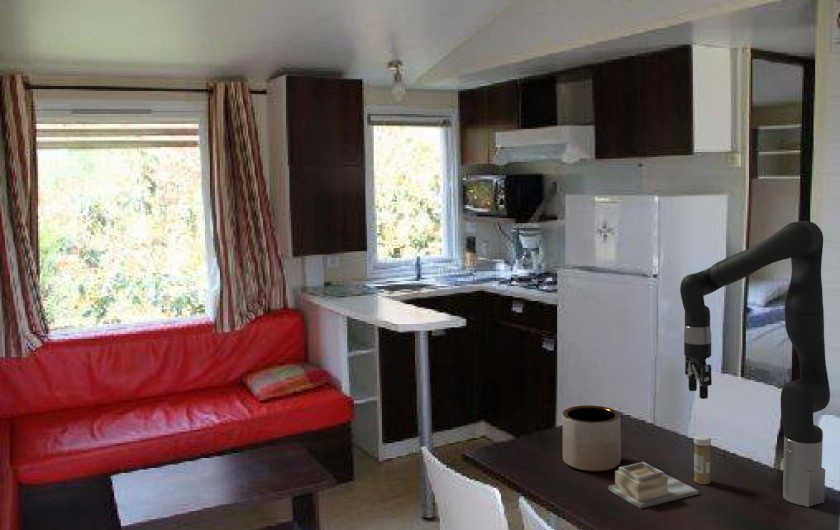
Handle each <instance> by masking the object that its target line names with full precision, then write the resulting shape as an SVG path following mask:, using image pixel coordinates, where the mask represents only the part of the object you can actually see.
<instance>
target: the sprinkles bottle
mask: <svg viewBox="0 0 840 530" xmlns="http://www.w3.org/2000/svg"><path fill="white" fill-rule="evenodd" d="M693 443H694V454H693V460H694V461H693V462H694V463H693V464H694V465H693V469H694V470H693V471H694V478H693V481H694V482H695V483H696V484H700V485H708V484H710V483H711V443H712V437H710V435H706V434H696V435H694V436H693Z"/></svg>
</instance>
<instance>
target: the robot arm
mask: <svg viewBox="0 0 840 530" xmlns="http://www.w3.org/2000/svg"><path fill="white" fill-rule="evenodd" d="M823 249H824V235H823V231H822V229H821V227H819V226H818V225H817V224H816V223H815V222H813V221H810V220H809V221H808V220H802V221H801V220H800V221H795V222H794V221H793V222H791V223H790V222H789V223H787V224H786V225H784V226H783V227H782V228H781V229H779V230H777V231H776V232H775V233H773V234H772V235H770V236H769V237H767V238H766V239H764V240H762V241H761V242H758V243H757V244H755V245H754V246H751V247H749V248H746V249H744V250H742V251H740V252H737V253H735V254H733V255H731V256H728V257H726V258H724V259H722V260H718V261H717V262H716V263H714V264H712V266H710V267H708V268H706V269H704V270H703V269H702V270H700V271H699V272H695V273H691V274H688V275H685V276H684V277H683V278H682V280H681V282H680V286H679V293H680V298H681V303H682V306H683V310H684V330H683V354H684V362H685V363H684V364H685V365H684V373H685V375H686V377H687V379H688V390H689V391H690V392H696V391H697V390H698V389H697V388H699V392H698V393H699V398H700V399H702V400H703V399H704V400H706V399H707V400H708V398H709V386H712V383H713V381H712V365H711V364H707V361H706V359H708V358H711V356H712V330H711V311H710V308H709V306H707V305H706V304H705V297H704V296H707V295H710V294H712V293H713V292H715V291H718V290H719V289H721V288H724V287H725V286H729V285H731V284H733V283H736V282H738V281H740V280H743V279H745V278H746V277H749V276H751V275H752V274H755V273H756V272H757V271H759V270H761V269H763V268H764V267H768V266H769V265H771V264H774V263H777V262H779V261H783V260H788V259H790V261H791V277H790V283H789V286H788V289H787V294H786V298H785V303H784V323H785V332H786V334H787V337H788V339H789V341H790V343H791V344H792V347H793V348H794V350H795V352H796V354H797V356H798V362H799V378H798V379H796V380H790V381H789V382H787V383H785V385H783V387H782V388H781V391H780V392H781V393H780V418H781V419H780V422H781V426H782V428H783V432H784V433H783V468H782V469H783V470H782V473H783V475H782V477H783V478H782V498H783V499H784V500H786V501H787V502H790V503H792V504H793V505H798V506H803V507H806V508H810V506H811V507H814V506H813V505H815V506H817V505H816V504H818V505H821V504H820V503H822V504H824V503H825V491H826V490H825V489H826V487H825V486H826V469H825V468H824V467H823V439H824V433H823V429H822V428H821V427H820V426H818V425H815V424H814V413H816V412H820V411H823V410H824V409H826V408H827V407H828V405H829V404H830V401H831V400H830V399H831V390H830V382H829V376H828V375H829V374H828V370H827V363H826V362H827V361H826V344H825V313H824V312H825V311H824V299H823V297H824V295H823V283H822V280H823V279H822V262H823V251H824V250H823ZM697 383H698V384H699V386H698V384H697ZM697 386H698V387H697Z"/></svg>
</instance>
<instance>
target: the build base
mask: <svg viewBox="0 0 840 530" xmlns="http://www.w3.org/2000/svg"><path fill="white" fill-rule="evenodd" d="M607 490H609V491H610V492H611V493H612V494H615V495H617V497H620V498H622V499H623V500H625V501H626V502H629V503H631V505H634V506H635V507H636V508H638V509H644V508H648V507H652V506H655V505H660V504H664V503H667V502H671V501H676V500H680V499H684V497H685V498H688V496H689V497H692V496H695V495H699V490H697V489H696V488H694V487H692V486H691V485H688V484H686V483H684V482H682V481H680V480H678V479H676V478H674V477H672V476H671V475H668V474H666V473H665V472H664V471H662V470H660V469H658V468H656V467H654V466H652V465H650V464H649V463H646V462H644V461H640V462H636V463H632V464H628V465H622V466H619V467H618V469H617V470H615V471H614V484H610V485H608V486H607Z"/></svg>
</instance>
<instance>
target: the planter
mask: <svg viewBox="0 0 840 530" xmlns="http://www.w3.org/2000/svg"><path fill="white" fill-rule="evenodd" d="M621 438H622V437H621V414H620V412H619V411H618V410H615V409H613V408H611V407H606V406H602V405H592V404H591V405H587V404H585V405H576V406H570V407H567V408H566V409H564V411H562V460H563V462H564V463H565V464H566V465H568V466H569V467H571V468H573V469H577V470H580V471H583V472H584V471H585V472H605V471H609V470H613V469H614V468H616V467H618V466H619V465H620V463H621V460H622V447H621V442H622V441H621V440H622V439H621Z"/></svg>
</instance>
